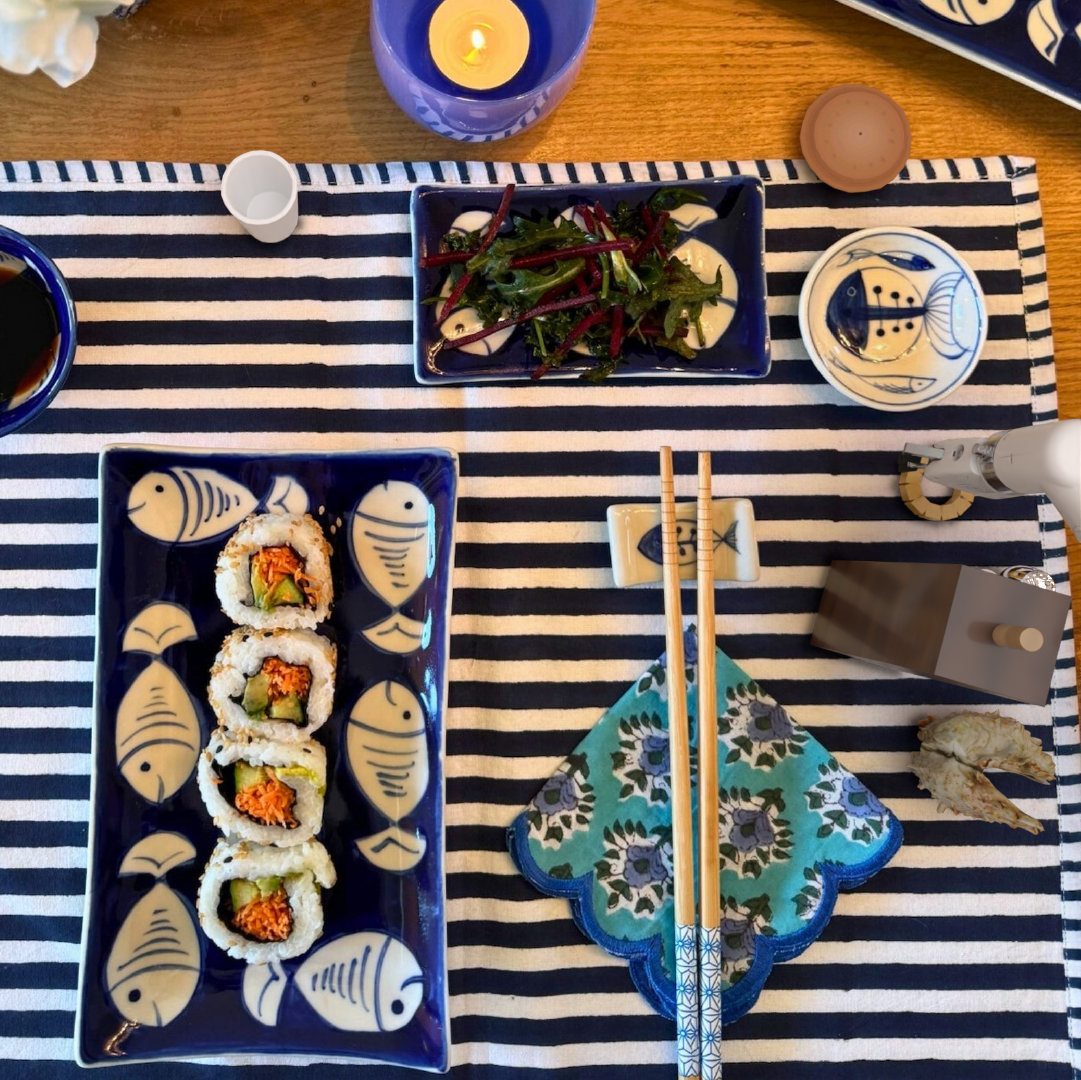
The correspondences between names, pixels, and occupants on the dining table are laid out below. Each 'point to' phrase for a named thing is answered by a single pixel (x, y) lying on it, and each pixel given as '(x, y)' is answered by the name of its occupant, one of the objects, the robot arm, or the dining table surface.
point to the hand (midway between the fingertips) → (938, 471)
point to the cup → (262, 195)
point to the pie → (855, 138)
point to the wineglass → (1028, 576)
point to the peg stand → (945, 625)
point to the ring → (923, 506)
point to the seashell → (978, 764)
